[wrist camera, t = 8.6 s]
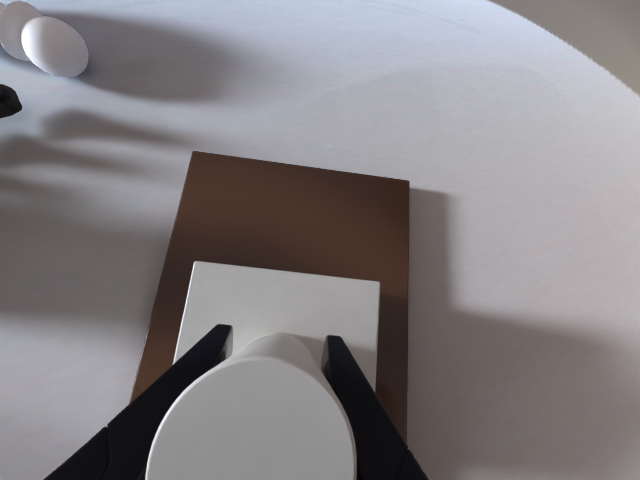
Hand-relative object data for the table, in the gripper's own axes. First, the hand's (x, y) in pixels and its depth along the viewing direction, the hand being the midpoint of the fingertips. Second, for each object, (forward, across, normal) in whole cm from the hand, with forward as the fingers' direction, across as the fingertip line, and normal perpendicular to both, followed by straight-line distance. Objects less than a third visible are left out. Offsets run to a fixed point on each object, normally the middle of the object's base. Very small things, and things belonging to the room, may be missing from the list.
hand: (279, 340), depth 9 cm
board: (+5, 0, +4) cm, 7 cm away
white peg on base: (+3, 0, +5) cm, 6 cm away
